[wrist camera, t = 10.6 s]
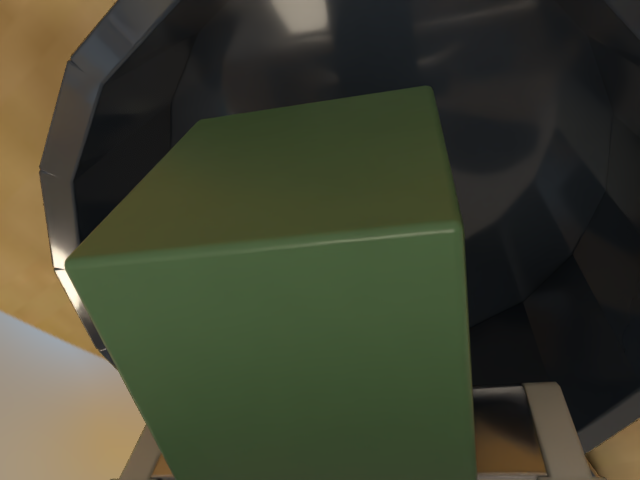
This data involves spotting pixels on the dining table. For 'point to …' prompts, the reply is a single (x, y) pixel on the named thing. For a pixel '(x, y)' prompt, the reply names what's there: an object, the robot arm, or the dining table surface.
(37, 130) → the dining table surface
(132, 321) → the green bar
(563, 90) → the dark grey round container
